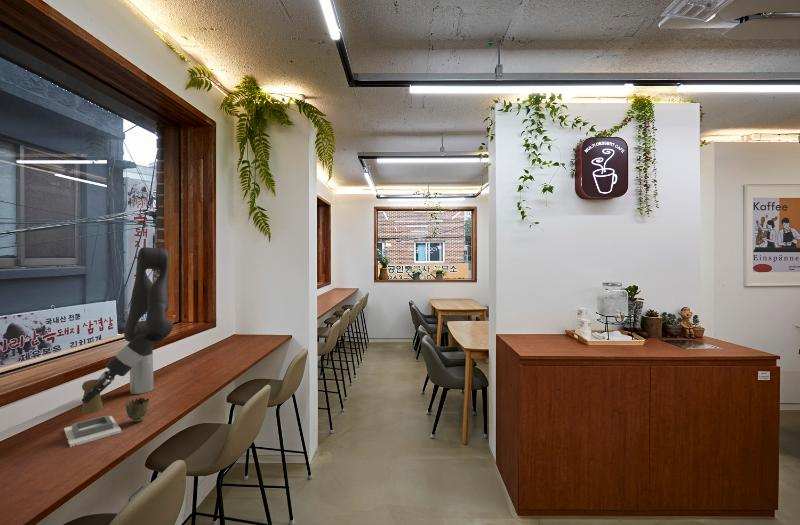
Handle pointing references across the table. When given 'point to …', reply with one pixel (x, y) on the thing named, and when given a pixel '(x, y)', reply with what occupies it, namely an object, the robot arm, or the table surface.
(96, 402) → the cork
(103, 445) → the table surface
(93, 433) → the socket board
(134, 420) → the cup
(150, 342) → the robot arm
